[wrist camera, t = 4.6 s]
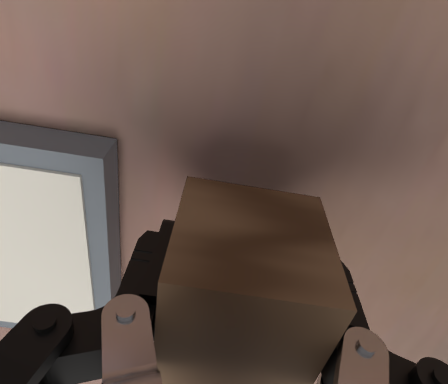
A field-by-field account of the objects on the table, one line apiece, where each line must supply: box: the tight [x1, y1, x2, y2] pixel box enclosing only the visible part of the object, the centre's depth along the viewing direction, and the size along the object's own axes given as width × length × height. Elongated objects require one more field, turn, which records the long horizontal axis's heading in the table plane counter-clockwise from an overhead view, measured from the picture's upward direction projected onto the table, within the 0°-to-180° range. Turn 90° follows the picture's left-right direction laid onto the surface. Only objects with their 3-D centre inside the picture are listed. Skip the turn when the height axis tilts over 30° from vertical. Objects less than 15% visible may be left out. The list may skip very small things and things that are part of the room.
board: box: [0, 121, 121, 328], centre depth 19 cm, size 12×14×2 cm
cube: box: [154, 176, 357, 384], centre depth 12 cm, size 5×5×5 cm
